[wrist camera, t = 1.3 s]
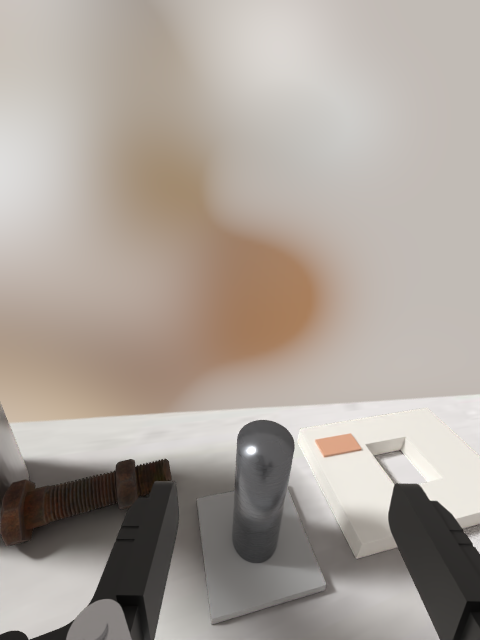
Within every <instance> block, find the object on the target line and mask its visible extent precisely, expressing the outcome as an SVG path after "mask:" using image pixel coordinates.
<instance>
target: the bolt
mask: <svg viewBox="0 0 480 640" xmlns="http://www.w3.org/2000/svg"><path fill="white" fill-rule="evenodd" d="M155 481H171V472H170V466H169V461H168V460H167V459H164V460H163V459H162V460H161V461H160V460H159V461H158V462H157V461H155V462H154V461H153V462H152V463H151V462H150V463H149V464H148V463H146V465H145V464H143V465H141V464H140V466H138V465H137V466H136V467H135V461H134V460H132V459H129V460H125V461H120V462H119V463H117V465H116V471H114V472H113V473H112V472H110V474H109V473H107V474H105V473H104V474H103V475H102V474H100V476H98V475H97V476H96V477H95V476H93V478H92V477H91V476H90V477H89V479H88V478H87V477H86V479H84V478H83V479H82V480H81V479H79V480H78V481H77V480H75V482H74V481H71V483H70V482H67V484H66V482H65V483H64V484H62V483H61V484H60V485H58V484H57V485H56V486H55V485H53V486H45V487H41V488H36V489H35V483H33V482H31V481H29V480H26V479H25V480H21V481H17V482H13V483H12V484H11V485H10V487H9V488H8V489H7V491H6V492H5V494H4V497H3V501H2V507H1V515H0V532H1V536H2V539H3V541H4V543H5V545H6V546H10V545H15V544H19V543H22V542H26V541H29V540H31V538H32V533H33V528H36V527H40V526H43V525H47V524H49V523H50V522H53V521H57V519H58V520H60V519H61V518H62V519H64V518H65V517H66V518H68V517H69V516H70V517H71V516H72V515H74V516H75V515H76V513H77V514H80V512H81V513H83V512H85V513H86V512H87V511H89V512H90V511H91V509H92V510H94V509H95V508H96V509H98V508H100V509H101V508H102V506H103V507H105V506H106V505H107V506H109V504H110V505H112V504H113V503H114V504H116V502H117V503H118V506H119V509H125V508H129V507H131V506H132V505H133V503H134V502H135V501H136V500H137V499H138V497H139V496H141V497H142V496H143V495H145V496H146V494H148V495H149V493H150V492H151V489H152V486H153V484H154V482H155Z"/></svg>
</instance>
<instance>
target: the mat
mask: <svg viewBox="0 0 480 640" xmlns="http://www.w3.org/2000/svg"><path fill="white" fill-rule="evenodd" d="M197 509H198V517H199V525H200V533H201V542H202V550H203V558H204V566H205V574H206V583H207V591H208V599H209V607H210V615H211V624H215V623H219V622H222V621H225V620H229V619H232V618H235V617H239V616H242V615H245V614H248V613H252V612H255V611H258V610H262V609H265V608H268V607H272V606H275V605H278V604H281V603H285V602H288V601H291V600H295V599H298V598H301V597H305V596H308V595H311V594H315V593H318V592H321V591H324V590H325V588H326V585H327V584H326V582H325V579H324V577H323V574H322V572H321V569H320V567H319V564H318V562H317V559H316V557H315V554H314V552H313V550H312V547H311V545H310V542H309V540H308V537H307V535H306V532H305V530H304V527H303V525H302V522H301V520H300V517H299V515H298V512H297V510H296V507H295V505H294V502H293V500H292V497H291V495H290V492H289V490H288V487H287V493H286V499H285V504H284V510H283V515H282V521H281V527H280V532H279V538H278V544H277V548H276V551H275V553H274V554H273V556H272V557H271V558H270V559H268V560H267V561H265V562H262V563H250V562H248V561H245V560H244V559H242V558H241V557H240V556H239V555H238V553H237V552H236V550H235V548H234V546H233V542H232V527H233V509H234V491H230V492H225V493H220V494H215V495H211V496H206V497H201V498H197Z"/></svg>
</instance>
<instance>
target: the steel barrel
mask: <svg viewBox="0 0 480 640" xmlns="http://www.w3.org/2000/svg"><path fill="white" fill-rule="evenodd" d="M293 453H294V440H293V437H292V435H291V434H290V432H289V431H288V430H287V429H286V428H285V427H283V426H282V425H280V424H278V423H276V422H273V421H268V420H257V421H253V422H250V423H248V424H247V425H245V426H244V427H243V428H242V429H241V430H240V432H239V434H238V438H237V454H236V472H235V491H234V509H233V527H232V542H233V546H234V548H235V550H236V552H237V553H238V555H239V556H240V557H241V558H242V559H244V560H245V561H248V562H250V563H262V562H265V561H267V560H268V559H270V558H271V557H272V556H273V554H274V553H275V551H276V548H277V544H278V538H279V532H280V527H281V521H282V515H283V510H284V504H285V499H286V493H287V487H288V482H289V476H290V470H291V465H292V459H293Z"/></svg>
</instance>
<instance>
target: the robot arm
mask: <svg viewBox="0 0 480 640" xmlns="http://www.w3.org/2000/svg"><path fill="white" fill-rule="evenodd" d="M25 479H26V480H29V473H28V470H27V467H26V465H25V462H24V460H23V457H22V455H21V453H20V450H19V447H18V445H17V442H16V440H15V437H14V435H13V432H12V430H11V427H10V425H9V423H8V420H7V418H6V415H5V413H4V410H3V408H2V405H1V403H0V515H1V507H2V501H3V497H4V494H5V492H6V491H7V489H8V488H9V487H10V485H11V484H12V483H13V482H17V481H21V480H25ZM178 520H179V509H178V498H177V488H176V482H175V481H155V482H154V484H153V486H152V489H151V492H150V495H149V498H141V497H138V499H137V500H136V501H135V502H134V503H133V505H132V506H131V507H130V508H129V509H128V511H127V513H126V516H125V518H124V521H123V523H122V526H121V529H120V531H119V533H118V536H117V539H116V542H115V544H114V546H113V549H112V551H111V554H110V556H109V559H108V561H107V564H106V567H105V569H104V572H103V574H102V577H101V579H100V582H99V584H98V587H97V589H96V592H95V594H94V596H93V598H92V600H91V602H90V603H89V605H88V606H87V607H86V608H85V609H84V610H83V611H82V612H81V613H80V614H79V615H78V616H77V617H76V619H75V620H73V621H72V622H71V623H69V624H67V625H66V626H64V627H62V628H59V629H57V630H54V631H52V632H49V633H46V634H44V635H41V636H38V637H36V638H33V639H30V640H154V638H155V633H156V628H157V624H158V619H159V614H160V609H161V605H162V600H163V595H164V591H165V586H166V581H167V576H168V572H169V567H170V562H171V558H172V553H173V548H174V543H175V539H176V534H177V529H178ZM388 522H389V527H390V530H391V533H392V536H393V538H394V540H395V542H396V544H397V547H398V549H399V551H400V553H401V555H402V557H403V560H404V562H405V564H406V566H407V568H408V570H409V573H410V575H411V577H412V579H413V581H414V584H415V586H416V588H417V590H418V592H419V594H420V597H421V599H422V601H423V603H424V605H425V608H426V610H427V612H428V614H429V616H430V618H431V621H432V623H433V625H434V627H435V629H436V631H437V634H438V636H439V638H440V640H480V554H479V552H478V551H477V549H476V548H475V547H473V545H472V542H471V541H470V539H469V538H468V536H467V535H466V533H464V532H463V529H462V528H461V526H460V525H459V523H458V522H457V520H456V519H455V518H454V516H453V515H452V514H451V513H450V512H449V511H448V510H447V509H446V508H445V507H443V506H442V505H441V504H440V503H439V502H438V501H430V500H429V498H428V496H427V495H426V493H425V492H424V490H423V489H422V487H421V486H420V485H418V484H395V485H394V488H393V493H392V497H391V502H390V507H389V512H388ZM0 640H28V637H27V636H26V635H25V634H24V633H23V632H20V631H9V632H6V633H3V634H1V635H0Z"/></svg>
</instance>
